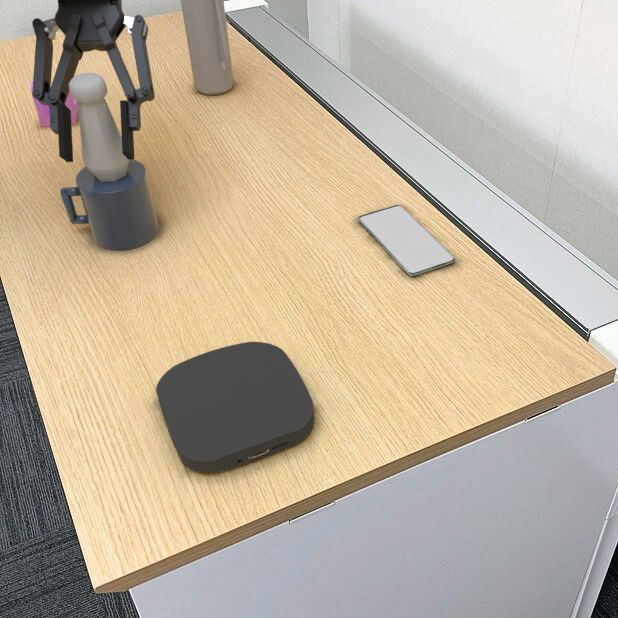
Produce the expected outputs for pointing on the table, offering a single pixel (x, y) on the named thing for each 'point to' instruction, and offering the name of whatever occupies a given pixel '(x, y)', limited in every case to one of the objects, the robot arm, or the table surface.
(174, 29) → the table surface
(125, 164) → the salt shaker
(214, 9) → the water bottle
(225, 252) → the table surface
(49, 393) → the table surface
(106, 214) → the mug
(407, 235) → the smartphone
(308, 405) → the media streaming box
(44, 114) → the bracket
